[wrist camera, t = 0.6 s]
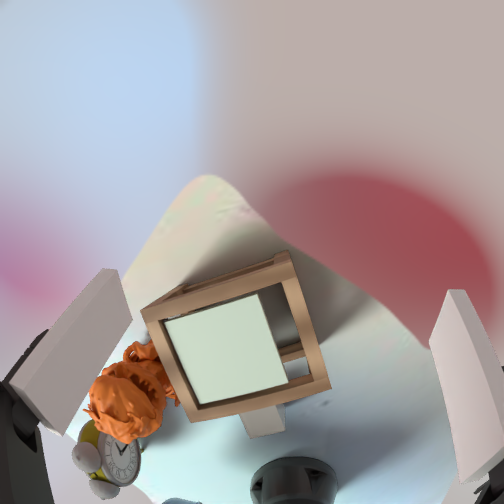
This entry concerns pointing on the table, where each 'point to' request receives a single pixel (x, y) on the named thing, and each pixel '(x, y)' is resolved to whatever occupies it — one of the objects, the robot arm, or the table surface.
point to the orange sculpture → (131, 394)
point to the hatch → (227, 349)
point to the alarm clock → (106, 460)
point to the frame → (222, 289)
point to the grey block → (264, 421)
